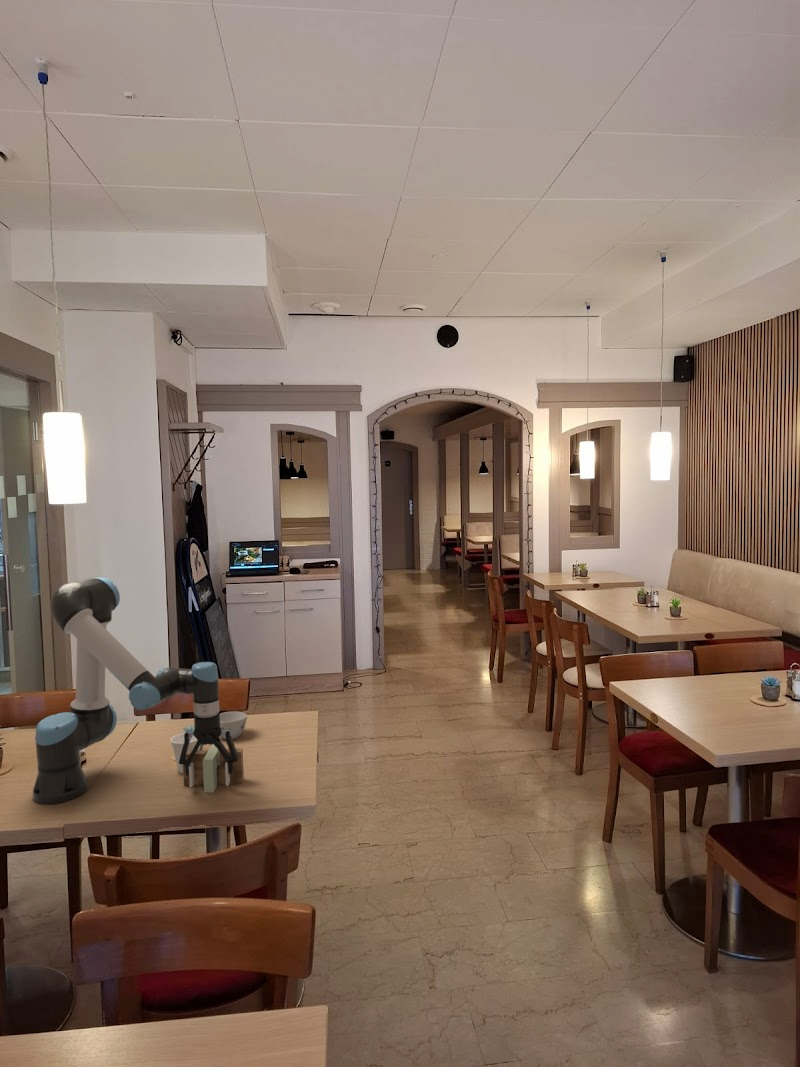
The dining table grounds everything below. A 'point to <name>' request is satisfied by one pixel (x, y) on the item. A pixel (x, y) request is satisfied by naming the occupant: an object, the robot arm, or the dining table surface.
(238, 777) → the walnut board
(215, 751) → the green board
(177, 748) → the cup
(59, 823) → the dining table surface
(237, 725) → the teacup
